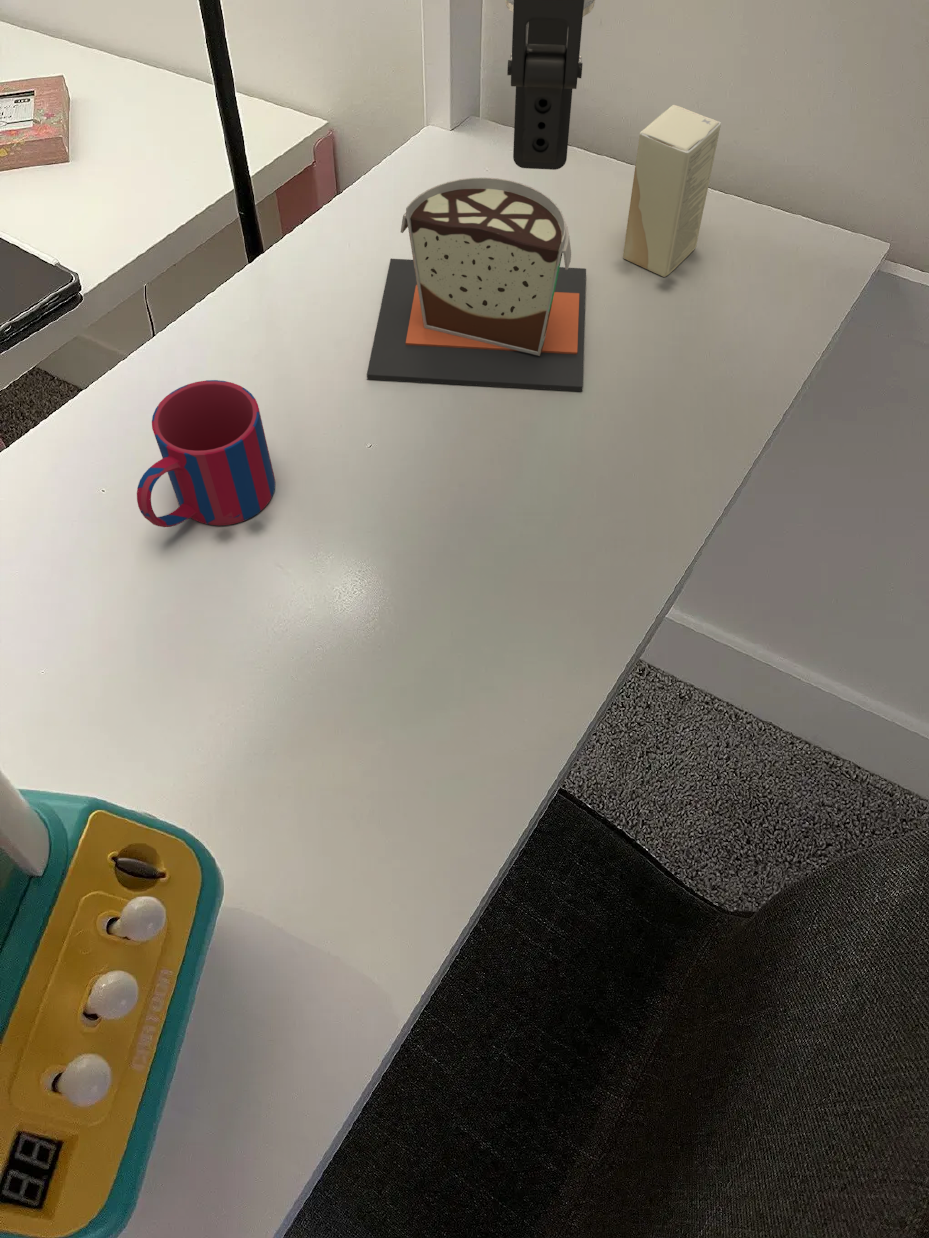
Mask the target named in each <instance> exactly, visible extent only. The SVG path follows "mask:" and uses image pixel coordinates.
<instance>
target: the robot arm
mask: <svg viewBox="0 0 929 1238" xmlns="http://www.w3.org/2000/svg"><path fill="white" fill-rule="evenodd" d="M504 2H505V6H506V8H507V10H509V11H510V12H511V13H512V34H511V35H512V38H511V53H510V55H509V59H508V60H507V74H506V76H510V87H515V96H514V97H515V98H514V99H515V101H514V122H513V123H514V126H513V152H512V159H513V162H514V164H515V166H517V167H518V168H521V169H530V170H531V169H533V170H554V171H556V170H559V169H561V168H563V167H564V166H565V165H566V163H567V159H568V147H569V137H570V136H569V134H570V124H571V112H572V98H573V90H577V87H578V79H582V75H583V61H582V60H583V56H581V55H580V52H581V41H582V32H583V31H582V29H583V18H584V17H585V16H587V15H589V14H590V13H591V12H592V11H593V9H594V7H595V4H596V0H504Z"/></svg>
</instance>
